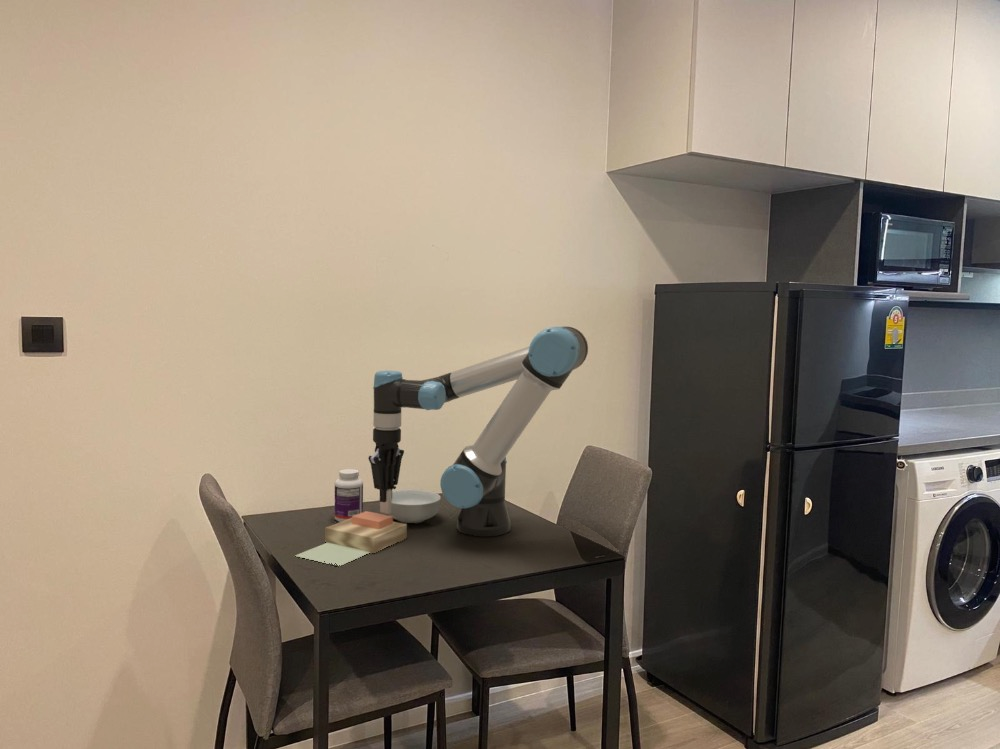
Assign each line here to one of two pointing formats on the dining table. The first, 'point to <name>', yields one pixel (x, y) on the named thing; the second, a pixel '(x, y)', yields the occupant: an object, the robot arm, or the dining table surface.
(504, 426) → the robot arm
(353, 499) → the pill bottle
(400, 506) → the cereal bowl
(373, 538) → the wooden block
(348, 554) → the mat
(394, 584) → the dining table surface
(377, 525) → the pink rectangular block
